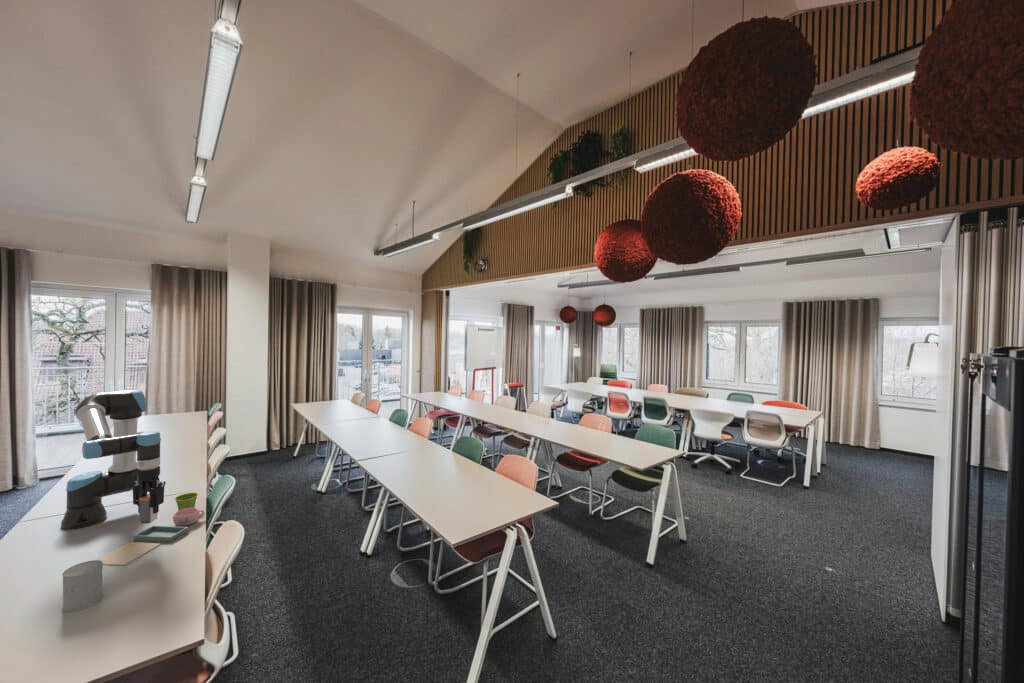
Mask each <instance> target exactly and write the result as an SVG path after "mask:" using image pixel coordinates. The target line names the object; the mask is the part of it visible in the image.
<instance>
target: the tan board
mask: <svg viewBox="0 0 1024 683" xmlns="http://www.w3.org/2000/svg"><path fill="white" fill-rule="evenodd" d="M160 545H162V542H141V541H130V542H128V543H126V544H124V545H123V546H121V547H119V548H117V549H115V550H113V551H112V552H110V553H108V554H106V555H104V556H102V557H100V558H99V559H97V560H100V561H102V562H103V564H102V566H116V567H117V566H120V567H122V566H124V567H125V566H127V565H129V564H130V563H132V562H133V561H135V560H137V559H139V558H141V557H142V556H144V555H145V554H147V553H149V552H150V551H152V550H154V549H156V548H157V547H159V546H160Z"/></svg>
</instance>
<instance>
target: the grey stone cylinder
mask: <svg viewBox="0 0 1024 683" xmlns="http://www.w3.org/2000/svg"><path fill="white" fill-rule="evenodd" d="M102 564H103V562H102V561H100V560H98V559H93V560H88V561H83V562H80V563H77V564H75V565H73V566H70V567H69V568H66V570H64V571H63V572H62V611H63V612H66V613H73V612H77V611H81V610H84V609H86V608H90V607H91V606H93V605H95V604H97V603H98V602H99V601H101V600H102V598H103V597H104V594H103V565H102Z"/></svg>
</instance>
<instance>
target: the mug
mask: <svg viewBox="0 0 1024 683" xmlns="http://www.w3.org/2000/svg"><path fill="white" fill-rule="evenodd" d="M200 513H201V515H200ZM204 515H205V511H204V510H202V509H199V508H197V507H195V508H187V509H183V510H180V511H178V510H177V511H176V512H175V513H174V514H173V515H172V522H173V523H174V525H175V527H187V526H190V525H192V524H195V522H197V520H198V519H199V518H201V517H203V516H204Z"/></svg>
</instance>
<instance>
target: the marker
mask: <svg viewBox="0 0 1024 683" xmlns="http://www.w3.org/2000/svg"><path fill="white" fill-rule="evenodd" d="M150 506H152V504H151V497H150V494H149V493H147V495H145V496H143V497H140V498H139V512H138V513H139V514H138V515H139V518H138V519H139V522H140V524H146V525H147V524H148V525H149V524H150V523H151V522H150Z"/></svg>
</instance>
